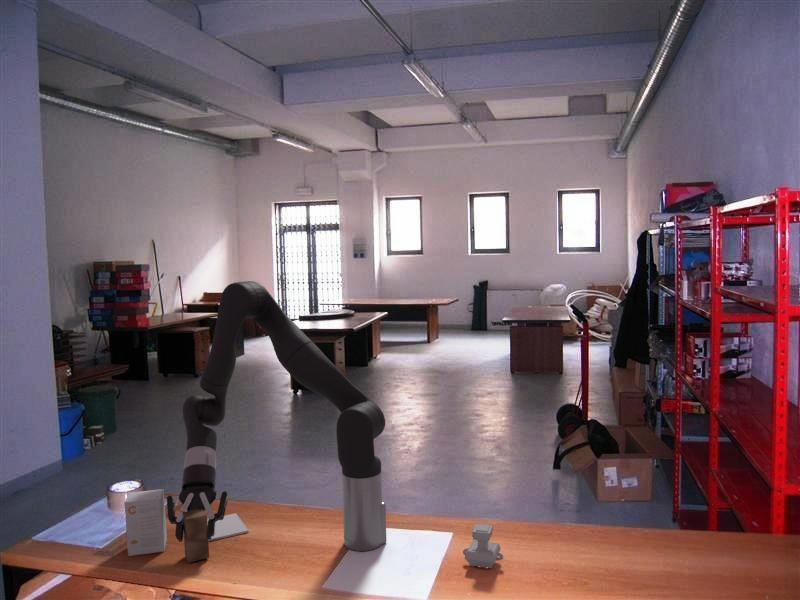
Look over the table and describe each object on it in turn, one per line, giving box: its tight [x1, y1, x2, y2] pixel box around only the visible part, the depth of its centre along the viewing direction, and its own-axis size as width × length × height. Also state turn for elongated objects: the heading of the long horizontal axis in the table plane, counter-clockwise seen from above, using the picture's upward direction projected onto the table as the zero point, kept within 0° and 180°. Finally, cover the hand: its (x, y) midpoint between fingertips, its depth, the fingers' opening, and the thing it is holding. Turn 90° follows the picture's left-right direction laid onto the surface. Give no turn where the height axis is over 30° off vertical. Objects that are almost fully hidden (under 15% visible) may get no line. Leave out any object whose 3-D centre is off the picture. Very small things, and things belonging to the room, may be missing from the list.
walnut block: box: [183, 509, 210, 563], centre depth 149 cm, size 4×4×10 cm
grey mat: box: [207, 512, 249, 543], centre depth 165 cm, size 12×12×1 cm
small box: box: [124, 488, 168, 557], centre depth 155 cm, size 8×6×13 cm
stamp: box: [462, 523, 504, 569], centre depth 144 cm, size 9×7×8 cm
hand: (194, 539), depth 148 cm, fingers closed on walnut block, 5 cm apart
